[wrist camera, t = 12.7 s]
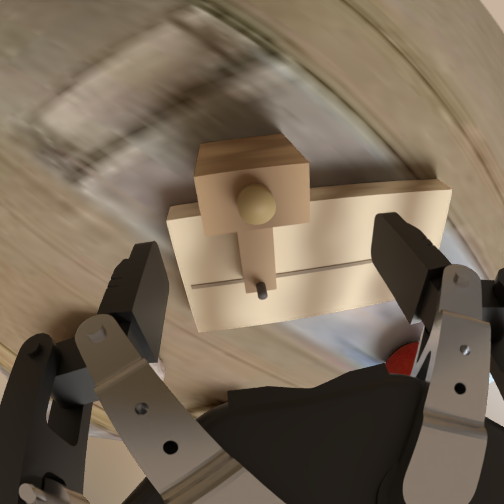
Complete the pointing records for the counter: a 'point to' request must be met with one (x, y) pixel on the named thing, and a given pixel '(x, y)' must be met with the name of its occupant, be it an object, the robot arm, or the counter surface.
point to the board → (303, 255)
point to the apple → (403, 359)
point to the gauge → (252, 198)
